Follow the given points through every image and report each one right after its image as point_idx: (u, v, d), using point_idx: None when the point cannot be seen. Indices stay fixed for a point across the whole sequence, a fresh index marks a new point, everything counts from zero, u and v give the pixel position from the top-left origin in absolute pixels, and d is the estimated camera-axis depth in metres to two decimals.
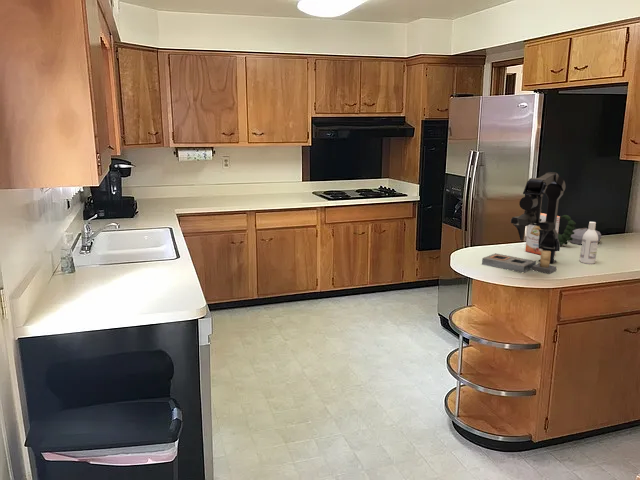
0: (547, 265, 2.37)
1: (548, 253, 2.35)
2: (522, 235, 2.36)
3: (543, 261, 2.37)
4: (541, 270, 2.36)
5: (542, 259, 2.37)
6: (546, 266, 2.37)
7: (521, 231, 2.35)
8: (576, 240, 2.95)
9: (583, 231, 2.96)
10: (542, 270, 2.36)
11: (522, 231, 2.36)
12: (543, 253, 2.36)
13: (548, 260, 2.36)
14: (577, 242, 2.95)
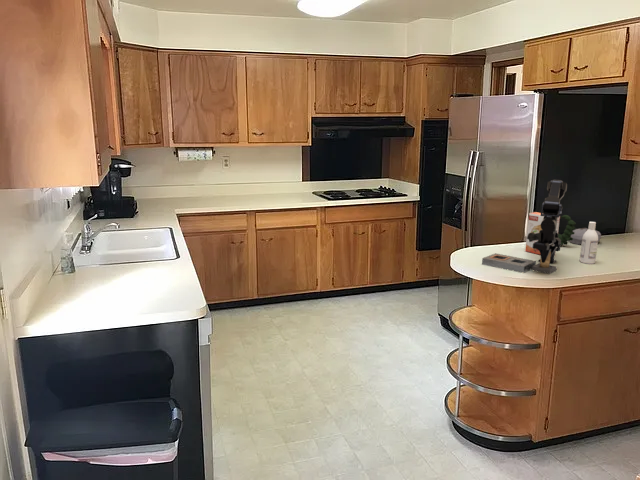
0: (547, 265, 2.37)
1: None
2: None
3: None
4: (541, 270, 2.36)
5: None
6: (546, 266, 2.37)
7: None
8: (576, 240, 2.94)
9: (583, 231, 2.95)
10: (542, 270, 2.36)
11: None
12: None
13: (548, 260, 2.36)
14: (577, 242, 2.94)
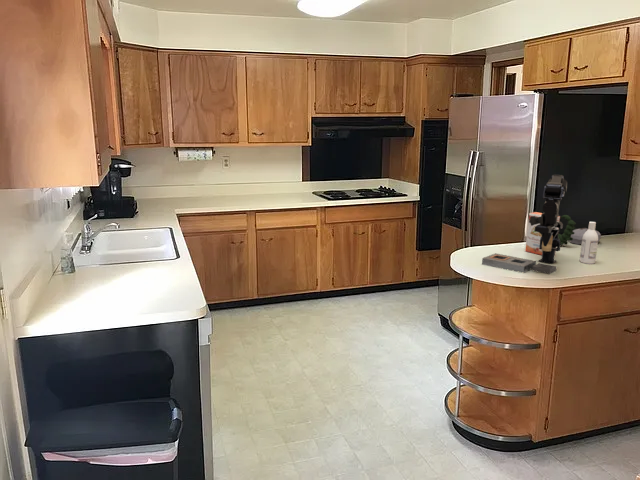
0: (548, 249, 2.35)
1: None
2: None
3: None
4: (541, 270, 2.36)
5: None
6: (548, 250, 2.35)
7: None
8: (576, 240, 2.94)
9: (583, 231, 2.95)
10: (542, 270, 2.36)
11: None
12: None
13: (550, 244, 2.35)
14: (577, 242, 2.94)
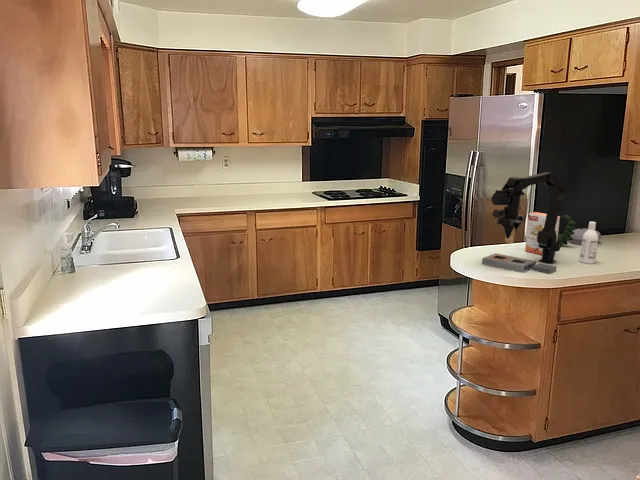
0: (511, 241, 2.43)
1: None
2: None
3: None
4: (541, 270, 2.36)
5: None
6: (510, 242, 2.43)
7: None
8: (576, 240, 2.94)
9: (583, 231, 2.95)
10: (542, 270, 2.36)
11: None
12: None
13: (512, 236, 2.42)
14: (577, 242, 2.94)
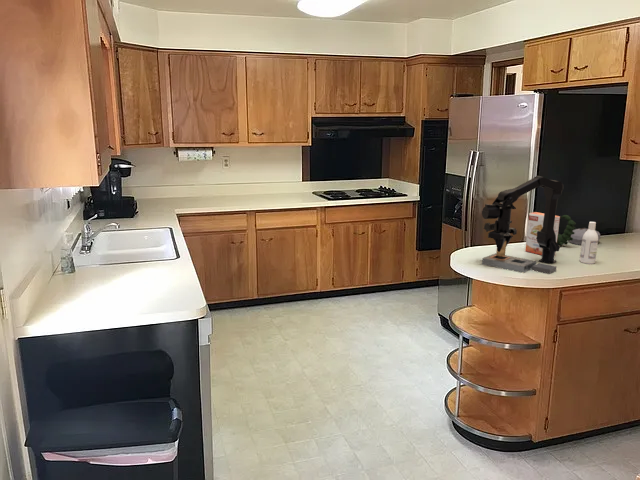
0: (502, 254, 2.46)
1: None
2: None
3: None
4: (541, 270, 2.36)
5: None
6: (502, 255, 2.46)
7: None
8: (575, 240, 2.94)
9: (582, 231, 2.95)
10: (542, 270, 2.36)
11: None
12: None
13: (504, 249, 2.46)
14: (576, 242, 2.94)
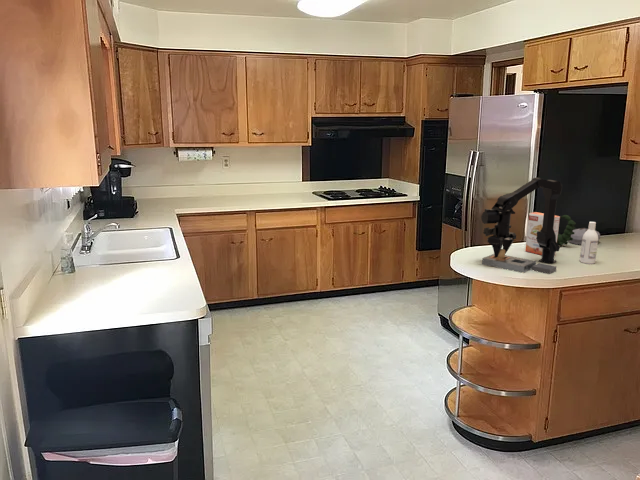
0: None
1: (502, 251, 2.46)
2: (505, 249, 2.51)
3: None
4: (541, 270, 2.36)
5: (497, 257, 2.48)
6: None
7: (504, 245, 2.51)
8: (575, 240, 2.94)
9: (582, 231, 2.95)
10: (542, 270, 2.36)
11: (505, 246, 2.51)
12: None
13: (503, 258, 2.47)
14: (576, 242, 2.94)
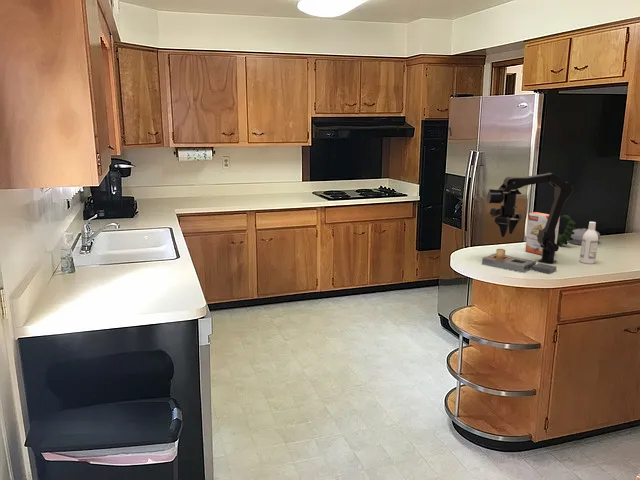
0: None
1: (502, 251, 2.46)
2: (511, 229, 2.55)
3: None
4: (541, 270, 2.36)
5: (497, 257, 2.48)
6: None
7: (510, 225, 2.56)
8: (575, 240, 2.94)
9: (582, 231, 2.95)
10: (542, 270, 2.36)
11: (512, 226, 2.55)
12: (498, 251, 2.47)
13: (503, 258, 2.47)
14: (576, 242, 2.94)
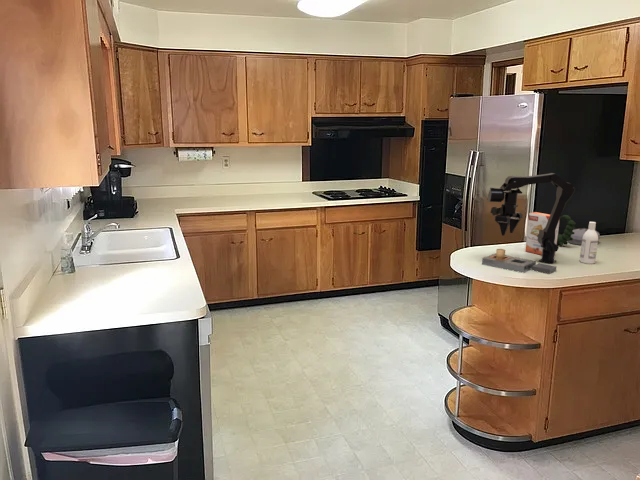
0: None
1: (502, 251, 2.46)
2: (512, 228, 2.56)
3: None
4: (541, 270, 2.36)
5: (497, 257, 2.48)
6: None
7: (511, 224, 2.57)
8: (575, 240, 2.94)
9: (582, 231, 2.95)
10: (542, 270, 2.36)
11: (512, 225, 2.56)
12: (498, 251, 2.47)
13: (503, 258, 2.47)
14: (576, 242, 2.94)
